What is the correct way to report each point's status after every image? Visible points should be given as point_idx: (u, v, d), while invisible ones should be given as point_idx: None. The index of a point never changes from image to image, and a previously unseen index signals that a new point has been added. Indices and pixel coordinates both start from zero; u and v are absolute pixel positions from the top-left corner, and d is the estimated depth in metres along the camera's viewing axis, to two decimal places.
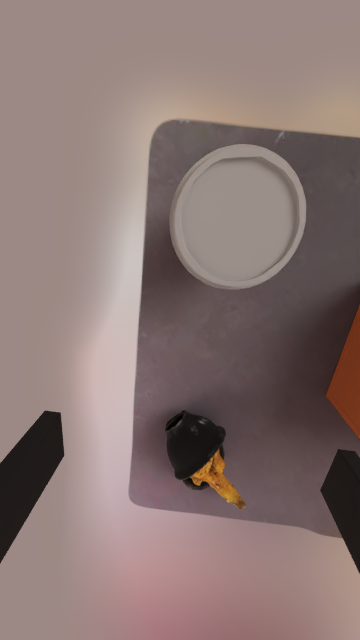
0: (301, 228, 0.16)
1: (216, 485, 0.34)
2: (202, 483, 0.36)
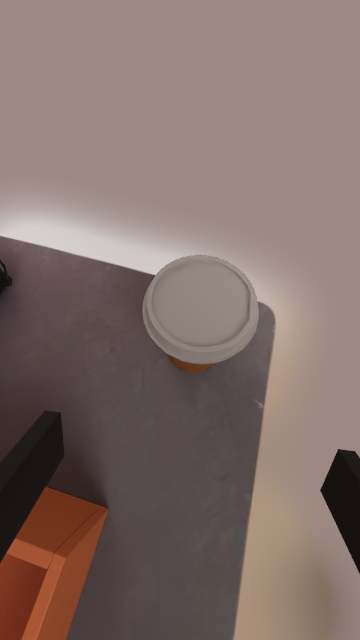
0: (189, 348, 0.17)
1: None
2: None
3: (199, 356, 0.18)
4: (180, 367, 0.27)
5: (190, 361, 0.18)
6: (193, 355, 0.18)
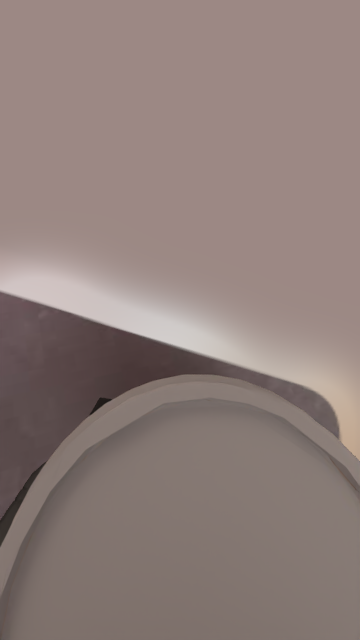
0: None
1: None
2: None
3: None
4: None
5: None
6: None
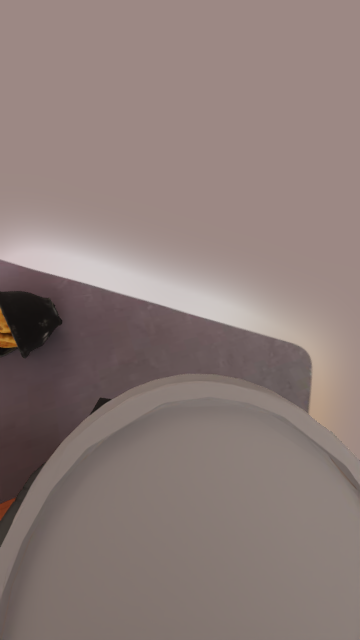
0: None
1: None
2: None
3: None
4: None
5: None
6: None
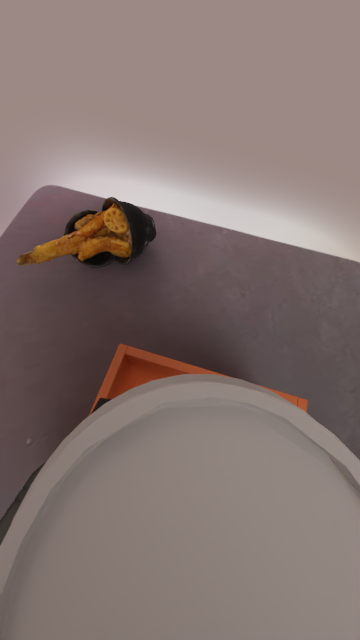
0: None
1: (72, 235, 0.33)
2: (71, 229, 0.35)
3: None
4: None
5: None
6: None
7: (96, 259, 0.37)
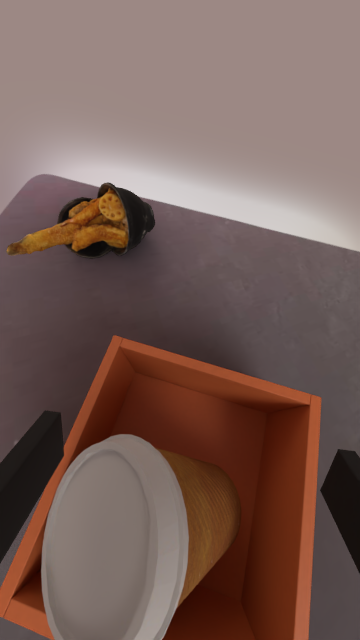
0: None
1: (66, 222, 0.31)
2: (65, 217, 0.33)
3: None
4: None
5: None
6: None
7: (91, 250, 0.35)
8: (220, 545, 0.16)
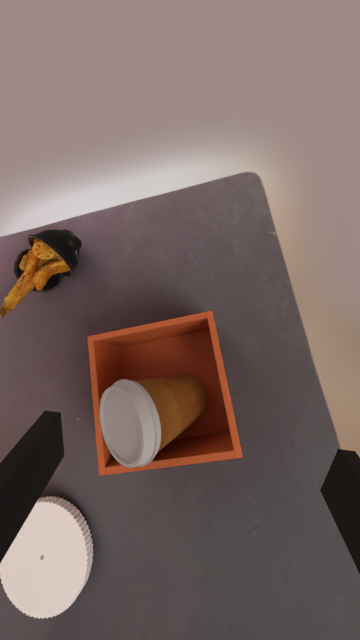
0: (129, 465, 0.26)
1: (22, 277, 0.41)
2: (19, 272, 0.43)
3: (139, 465, 0.25)
4: None
5: (141, 465, 0.26)
6: None
7: (51, 283, 0.46)
8: (189, 406, 0.30)
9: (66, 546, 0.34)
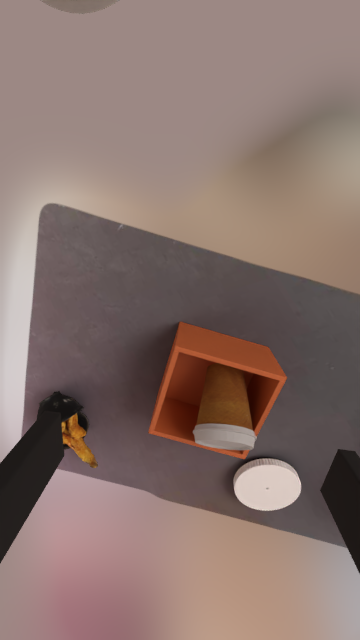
0: None
1: (71, 446, 0.49)
2: (65, 445, 0.50)
3: None
4: None
5: None
6: None
7: (82, 422, 0.52)
8: (234, 389, 0.38)
9: (270, 474, 0.51)
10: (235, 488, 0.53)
